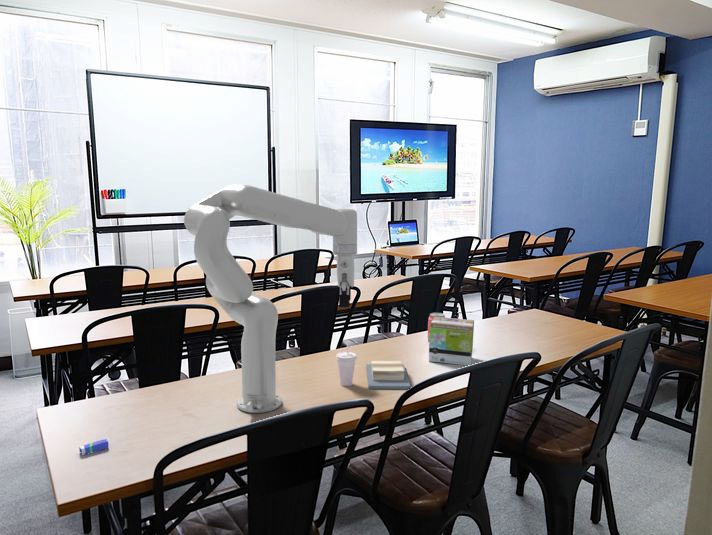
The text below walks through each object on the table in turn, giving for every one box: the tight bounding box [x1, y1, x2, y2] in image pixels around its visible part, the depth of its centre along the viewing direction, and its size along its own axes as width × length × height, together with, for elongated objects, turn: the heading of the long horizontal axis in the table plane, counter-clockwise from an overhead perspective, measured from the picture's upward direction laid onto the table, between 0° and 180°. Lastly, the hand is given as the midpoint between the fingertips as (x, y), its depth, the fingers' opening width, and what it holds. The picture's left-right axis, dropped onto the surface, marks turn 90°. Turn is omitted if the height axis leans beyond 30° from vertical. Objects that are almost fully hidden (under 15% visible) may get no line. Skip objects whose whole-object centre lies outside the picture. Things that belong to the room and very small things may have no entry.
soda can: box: [427, 312, 446, 343], centre depth 215 cm, size 7×7×12 cm
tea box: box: [428, 317, 475, 367], centre depth 195 cm, size 15×10×15 cm, turn 74°
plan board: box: [365, 363, 411, 390], centre depth 178 cm, size 20×13×1 cm, turn 1°
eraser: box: [78, 438, 109, 456], centre depth 128 cm, size 2×6×2 cm, turn 129°
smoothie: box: [335, 340, 358, 387], centre depth 171 cm, size 6×6×14 cm
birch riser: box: [370, 360, 404, 380], centre depth 178 cm, size 10×10×3 cm
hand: (345, 303), depth 170 cm, fingers open, 9 cm apart
